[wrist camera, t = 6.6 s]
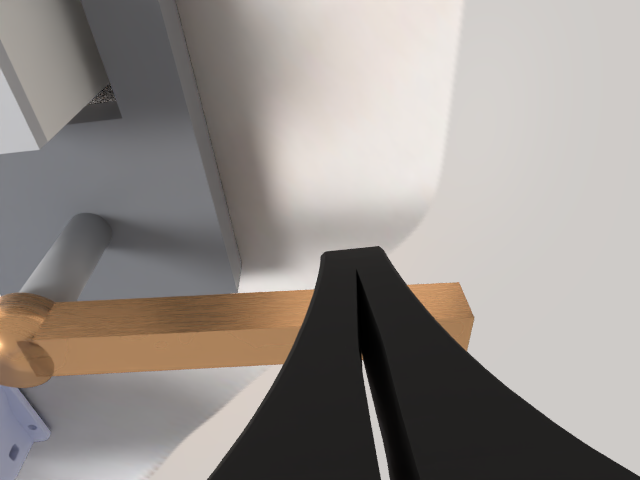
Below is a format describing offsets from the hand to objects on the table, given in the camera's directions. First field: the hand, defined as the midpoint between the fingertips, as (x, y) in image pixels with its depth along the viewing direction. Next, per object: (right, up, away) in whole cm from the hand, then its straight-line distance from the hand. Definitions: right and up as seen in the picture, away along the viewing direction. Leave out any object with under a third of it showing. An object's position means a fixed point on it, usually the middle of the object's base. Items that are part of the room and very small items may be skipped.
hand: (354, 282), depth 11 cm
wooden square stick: (-4, -1, +4) cm, 5 cm away
